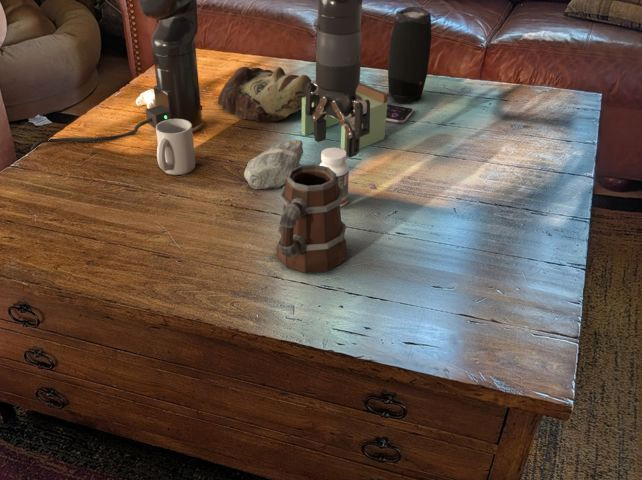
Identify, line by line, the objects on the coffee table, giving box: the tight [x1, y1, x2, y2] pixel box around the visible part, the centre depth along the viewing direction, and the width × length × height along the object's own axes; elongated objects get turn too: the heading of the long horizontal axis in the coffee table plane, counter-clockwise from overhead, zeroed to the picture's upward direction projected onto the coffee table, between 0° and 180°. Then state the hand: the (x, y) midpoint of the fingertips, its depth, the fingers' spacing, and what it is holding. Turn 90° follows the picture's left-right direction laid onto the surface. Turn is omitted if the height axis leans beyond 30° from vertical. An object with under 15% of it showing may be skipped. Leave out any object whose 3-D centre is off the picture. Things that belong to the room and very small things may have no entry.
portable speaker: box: [387, 6, 433, 104], centre depth 170 cm, size 9×9×20 cm
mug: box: [276, 163, 347, 274], centre depth 119 cm, size 16×12×15 cm
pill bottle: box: [319, 147, 350, 208], centre depth 136 cm, size 6×6×10 cm
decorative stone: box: [243, 139, 304, 190], centre depth 145 cm, size 13×10×6 cm
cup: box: [155, 119, 196, 176], centre depth 148 cm, size 7×10×9 cm
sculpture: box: [217, 66, 313, 123], centre depth 172 cm, size 21×10×25 cm
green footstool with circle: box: [301, 82, 389, 151], centre depth 157 cm, size 12×14×10 cm
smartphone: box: [386, 103, 414, 124], centre depth 170 cm, size 8×1×15 cm
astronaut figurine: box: [135, 88, 156, 109], centre depth 177 cm, size 9×12×3 cm
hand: (335, 147), depth 132 cm, fingers open, 8 cm apart
